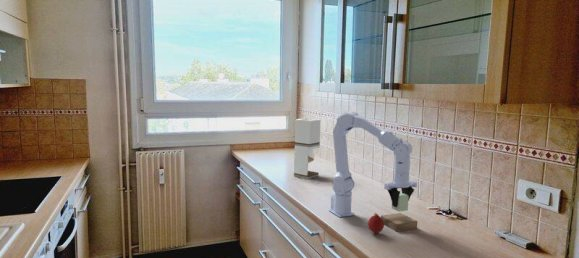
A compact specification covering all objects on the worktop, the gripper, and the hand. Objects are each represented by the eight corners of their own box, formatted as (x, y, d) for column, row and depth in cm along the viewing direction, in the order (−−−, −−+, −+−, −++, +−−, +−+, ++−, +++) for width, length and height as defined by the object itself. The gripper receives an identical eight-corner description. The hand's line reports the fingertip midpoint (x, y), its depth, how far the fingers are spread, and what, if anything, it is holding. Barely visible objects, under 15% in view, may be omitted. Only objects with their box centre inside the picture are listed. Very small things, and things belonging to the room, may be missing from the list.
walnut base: (380, 222, 154) (380, 215, 154) (400, 220, 158) (400, 213, 158) (396, 231, 145) (396, 224, 144) (417, 228, 149) (417, 221, 148)
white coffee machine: (308, 179, 224) (310, 120, 221) (293, 176, 231) (295, 119, 227) (318, 175, 234) (320, 119, 230) (304, 173, 240) (306, 118, 236)
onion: (381, 230, 145) (382, 210, 144) (385, 236, 139) (386, 215, 139) (366, 230, 145) (367, 210, 144) (369, 236, 139) (370, 215, 138)
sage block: (391, 208, 152) (392, 193, 151) (400, 207, 153) (401, 192, 153) (398, 211, 148) (399, 196, 147) (407, 210, 149) (408, 195, 149)
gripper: (393, 175, 142) (391, 210, 144) (423, 173, 148) (421, 206, 150) (381, 171, 149) (380, 205, 150) (410, 169, 155) (408, 201, 156)
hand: (399, 205), depth 150 cm, fingers closed on sage block, 4 cm apart
